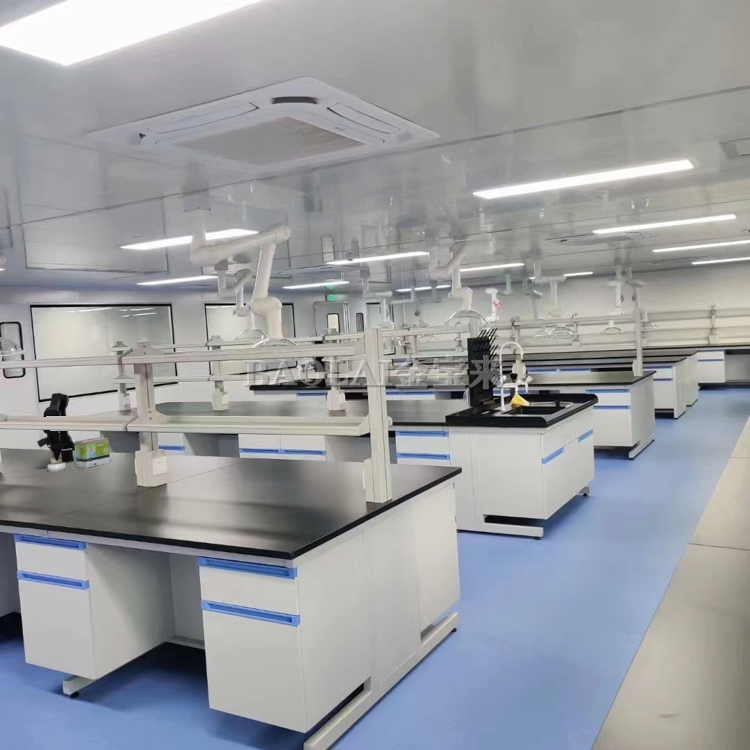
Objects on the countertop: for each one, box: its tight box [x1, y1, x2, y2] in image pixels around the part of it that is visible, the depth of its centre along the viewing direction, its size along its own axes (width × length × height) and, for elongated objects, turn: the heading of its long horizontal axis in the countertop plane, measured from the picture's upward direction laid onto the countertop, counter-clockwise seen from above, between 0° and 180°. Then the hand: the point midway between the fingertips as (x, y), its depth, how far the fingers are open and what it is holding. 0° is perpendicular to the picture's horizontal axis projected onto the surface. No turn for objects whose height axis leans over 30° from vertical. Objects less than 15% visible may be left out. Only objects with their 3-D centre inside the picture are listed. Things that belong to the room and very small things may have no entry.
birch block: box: [49, 450, 62, 464], centre depth 366 cm, size 5×5×6 cm
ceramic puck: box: [47, 462, 67, 474], centre depth 367 cm, size 9×9×4 cm
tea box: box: [74, 437, 111, 469], centre depth 377 cm, size 15×10×15 cm, turn 148°
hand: (56, 459), depth 367 cm, fingers closed on birch block, 5 cm apart
